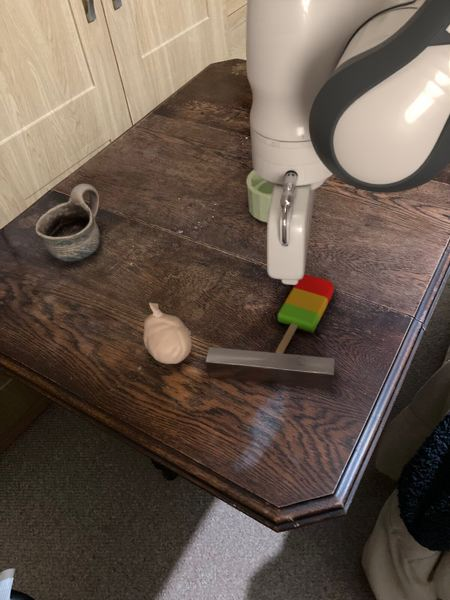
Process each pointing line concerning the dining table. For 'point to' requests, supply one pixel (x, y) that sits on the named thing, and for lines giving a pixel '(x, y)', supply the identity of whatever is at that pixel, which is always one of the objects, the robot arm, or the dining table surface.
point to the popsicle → (304, 306)
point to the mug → (71, 226)
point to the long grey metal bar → (270, 367)
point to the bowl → (258, 196)
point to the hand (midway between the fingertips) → (294, 252)
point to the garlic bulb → (166, 337)
